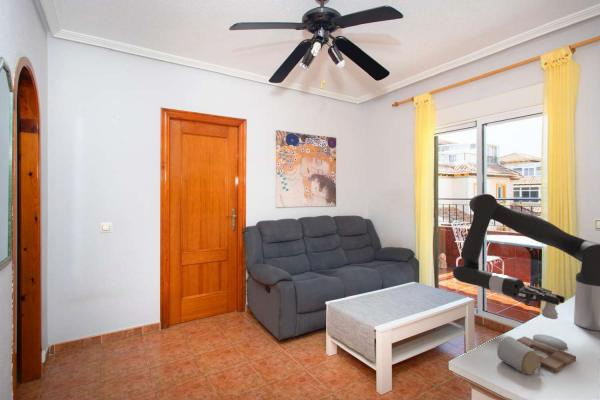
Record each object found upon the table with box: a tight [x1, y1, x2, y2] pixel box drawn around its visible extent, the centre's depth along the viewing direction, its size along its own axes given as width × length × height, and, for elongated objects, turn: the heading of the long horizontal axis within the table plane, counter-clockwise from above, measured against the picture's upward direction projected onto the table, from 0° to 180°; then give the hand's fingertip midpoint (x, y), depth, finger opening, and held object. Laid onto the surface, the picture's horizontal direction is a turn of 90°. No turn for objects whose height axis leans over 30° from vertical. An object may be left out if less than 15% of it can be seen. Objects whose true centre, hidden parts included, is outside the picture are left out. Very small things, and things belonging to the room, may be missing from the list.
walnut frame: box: [516, 335, 577, 374], centre depth 95 cm, size 14×14×1 cm
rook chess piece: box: [541, 293, 559, 320], centre depth 103 cm, size 4×4×8 cm
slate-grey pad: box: [532, 333, 568, 351], centre depth 103 cm, size 9×9×1 cm
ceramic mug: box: [496, 336, 541, 375], centre depth 88 cm, size 11×8×8 cm
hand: (561, 300), depth 100 cm, fingers closed on rook chess piece, 3 cm apart
